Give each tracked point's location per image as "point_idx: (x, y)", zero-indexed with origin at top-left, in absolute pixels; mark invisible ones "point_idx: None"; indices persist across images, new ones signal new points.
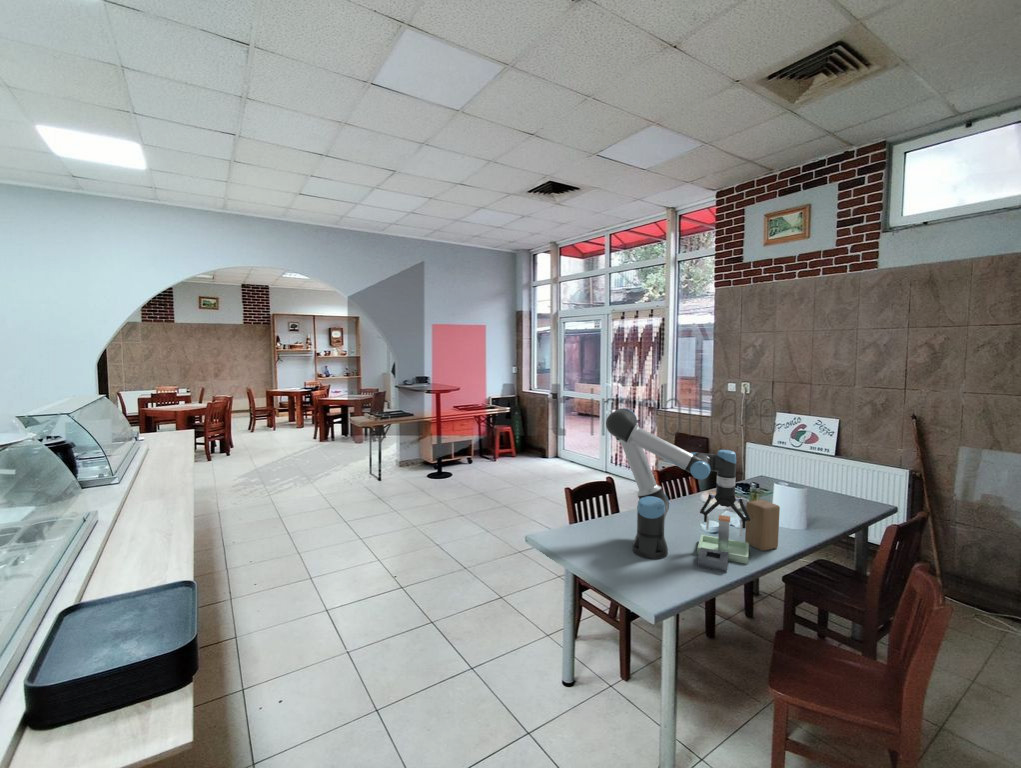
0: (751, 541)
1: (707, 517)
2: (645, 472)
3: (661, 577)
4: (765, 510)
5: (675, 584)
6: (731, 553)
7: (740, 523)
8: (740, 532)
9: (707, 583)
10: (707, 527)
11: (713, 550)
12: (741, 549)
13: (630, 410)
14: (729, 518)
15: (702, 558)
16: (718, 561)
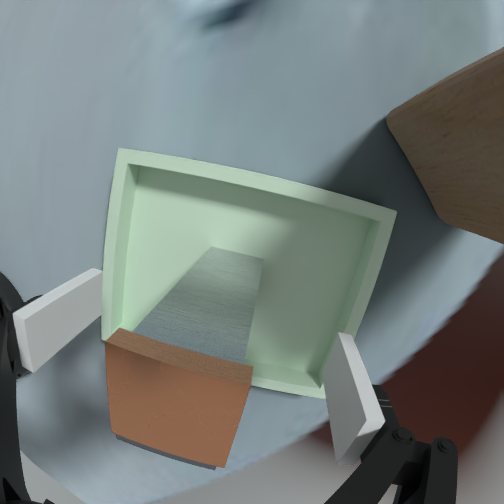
0: (417, 162)
1: (34, 362)
2: None
3: (70, 449)
4: None
5: (102, 473)
6: (254, 380)
7: (334, 448)
8: (327, 390)
9: (165, 479)
10: (85, 322)
11: None
12: (339, 245)
13: None
14: (225, 440)
15: (131, 443)
16: (185, 462)
